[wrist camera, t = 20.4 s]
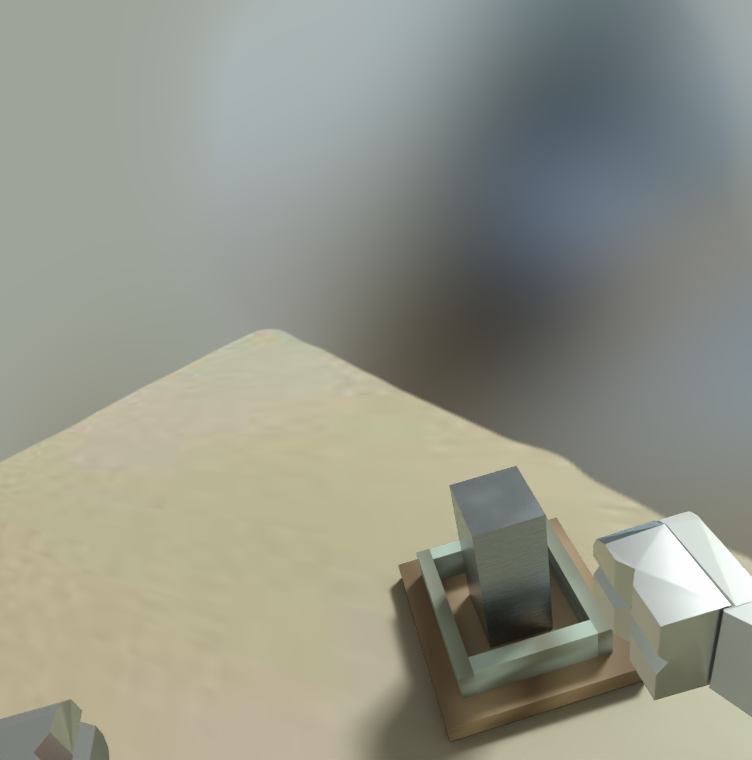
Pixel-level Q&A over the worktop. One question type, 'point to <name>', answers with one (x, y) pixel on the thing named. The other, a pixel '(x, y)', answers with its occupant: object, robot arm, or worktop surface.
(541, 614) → the graphite post
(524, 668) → the stand
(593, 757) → the worktop surface
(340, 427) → the worktop surface
